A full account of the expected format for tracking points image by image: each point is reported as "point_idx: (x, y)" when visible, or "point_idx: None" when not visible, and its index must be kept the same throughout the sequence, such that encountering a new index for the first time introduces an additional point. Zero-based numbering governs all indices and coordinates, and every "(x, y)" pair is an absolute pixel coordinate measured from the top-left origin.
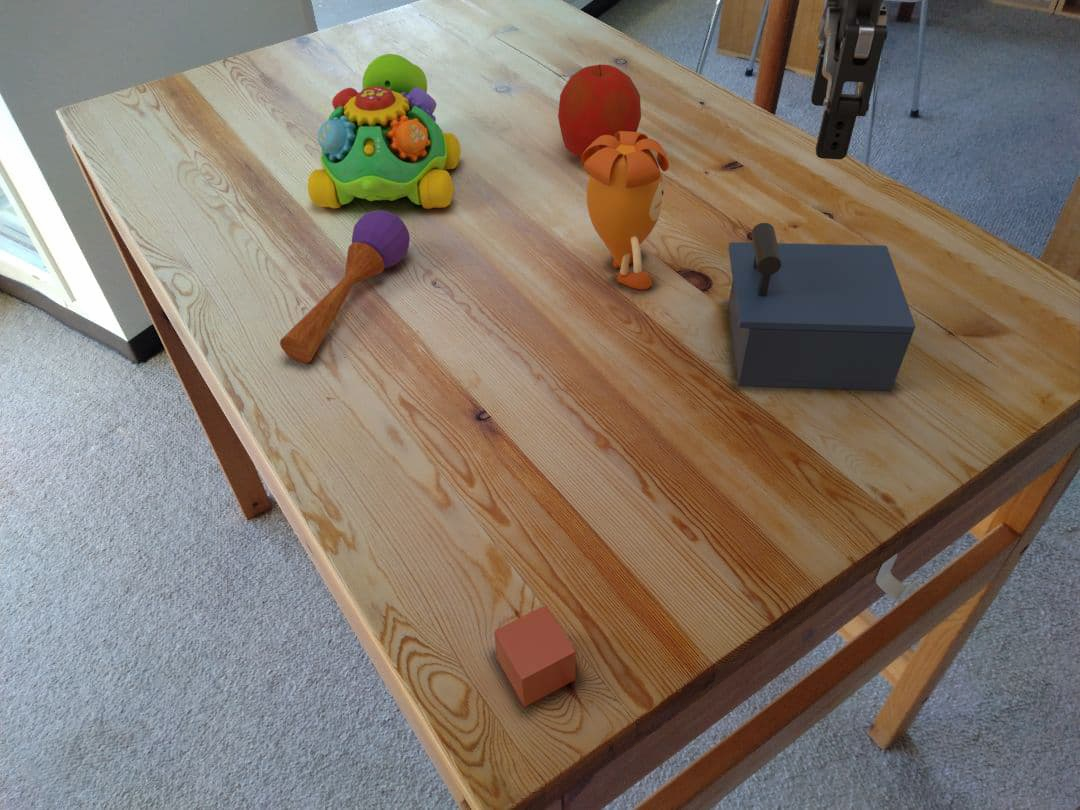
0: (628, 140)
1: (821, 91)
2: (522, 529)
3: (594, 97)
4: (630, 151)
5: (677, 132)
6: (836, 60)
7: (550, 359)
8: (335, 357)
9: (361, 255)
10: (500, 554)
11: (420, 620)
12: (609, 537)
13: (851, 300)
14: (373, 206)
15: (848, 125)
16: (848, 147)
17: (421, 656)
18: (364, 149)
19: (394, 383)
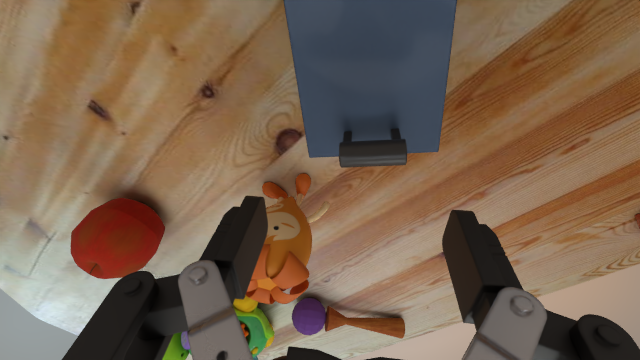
0: (253, 285)
1: (260, 238)
2: (546, 230)
3: (128, 262)
4: (267, 281)
5: (71, 157)
6: (234, 278)
7: (394, 226)
8: (395, 309)
9: (334, 326)
10: (563, 238)
11: (598, 263)
12: (568, 189)
13: (405, 35)
14: (260, 309)
15: (515, 280)
16: (477, 222)
17: (622, 261)
18: (256, 352)
19: (416, 288)
